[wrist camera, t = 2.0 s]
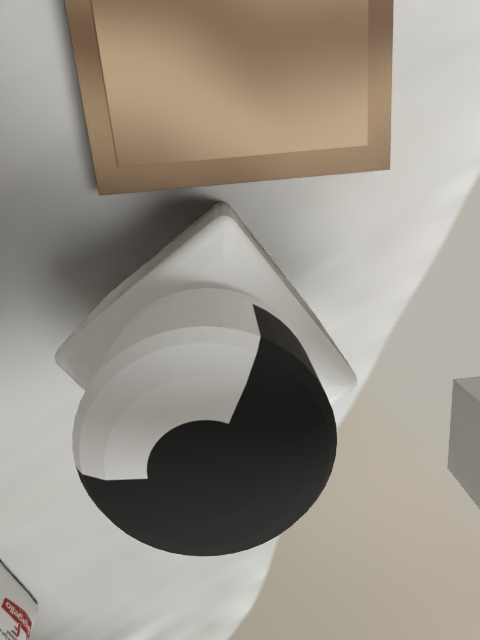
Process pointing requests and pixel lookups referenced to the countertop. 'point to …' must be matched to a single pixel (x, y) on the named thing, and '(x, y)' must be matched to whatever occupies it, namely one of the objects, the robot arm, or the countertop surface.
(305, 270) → the countertop surface
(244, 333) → the container
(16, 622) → the juice carton
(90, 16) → the stand
